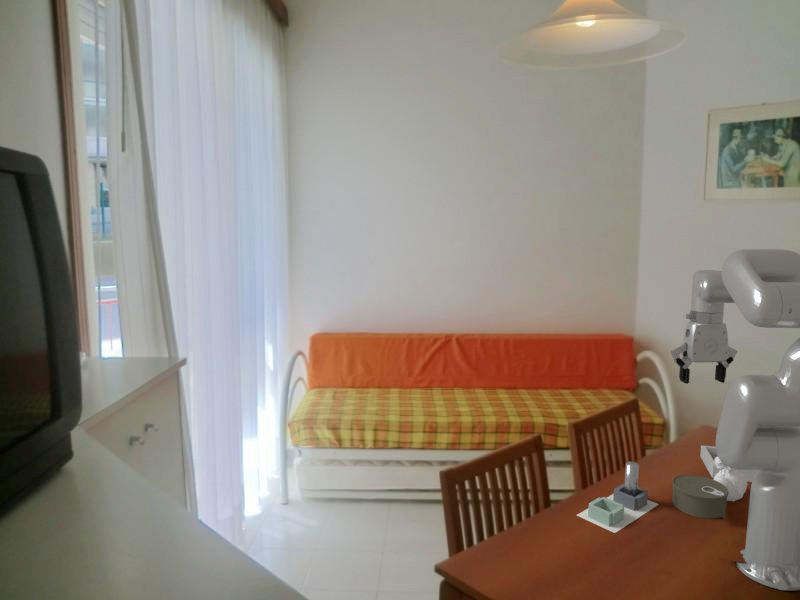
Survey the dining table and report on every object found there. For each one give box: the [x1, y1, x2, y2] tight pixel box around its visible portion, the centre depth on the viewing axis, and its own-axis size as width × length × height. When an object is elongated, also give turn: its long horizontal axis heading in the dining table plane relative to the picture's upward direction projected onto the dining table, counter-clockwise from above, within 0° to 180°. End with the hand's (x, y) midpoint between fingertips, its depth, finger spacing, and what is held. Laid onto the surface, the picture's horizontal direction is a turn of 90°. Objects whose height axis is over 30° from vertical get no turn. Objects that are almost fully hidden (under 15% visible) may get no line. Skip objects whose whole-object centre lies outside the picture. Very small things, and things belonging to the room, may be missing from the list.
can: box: [671, 474, 728, 521], centre depth 138 cm, size 12×12×7 cm
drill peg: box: [624, 461, 640, 497], centre depth 140 cm, size 3×3×10 cm
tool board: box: [576, 483, 659, 534], centre depth 137 cm, size 20×10×4 cm, turn 129°
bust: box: [712, 457, 748, 502], centre depth 147 cm, size 12×8×11 cm
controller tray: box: [699, 445, 759, 483], centre depth 161 cm, size 14×14×4 cm
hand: (702, 381), depth 149 cm, fingers open, 9 cm apart
